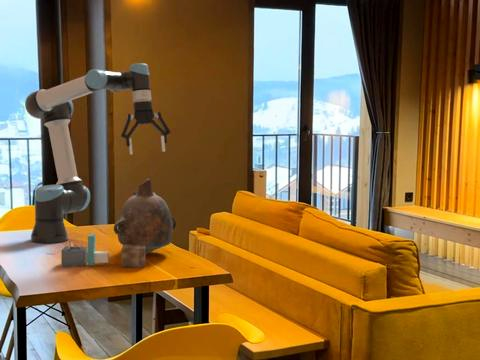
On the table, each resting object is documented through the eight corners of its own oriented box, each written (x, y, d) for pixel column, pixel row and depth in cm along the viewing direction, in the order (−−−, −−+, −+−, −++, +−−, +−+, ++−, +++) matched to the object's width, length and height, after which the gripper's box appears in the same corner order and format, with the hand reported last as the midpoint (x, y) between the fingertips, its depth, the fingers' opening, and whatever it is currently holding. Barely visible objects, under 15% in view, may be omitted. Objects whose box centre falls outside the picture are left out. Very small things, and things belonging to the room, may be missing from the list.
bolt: (61, 265, 226) (61, 236, 225) (64, 261, 231) (64, 233, 230) (107, 265, 228) (107, 236, 227) (109, 262, 233) (109, 233, 232)
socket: (121, 267, 227) (121, 248, 226) (123, 262, 235) (123, 244, 234) (144, 267, 228) (144, 248, 227) (145, 262, 236) (145, 244, 235)
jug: (140, 246, 266) (141, 174, 263) (184, 252, 257) (185, 177, 254) (103, 256, 244) (103, 178, 241) (149, 263, 235) (151, 182, 232)
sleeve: (61, 267, 225) (61, 250, 225) (64, 262, 232) (64, 246, 232) (84, 267, 226) (84, 250, 226) (87, 262, 233) (87, 246, 233)
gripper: (113, 102, 255) (118, 155, 256) (174, 98, 263) (179, 149, 264) (110, 104, 262) (116, 155, 263) (170, 100, 270) (175, 150, 271)
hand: (147, 153), depth 263 cm, fingers open, 13 cm apart
